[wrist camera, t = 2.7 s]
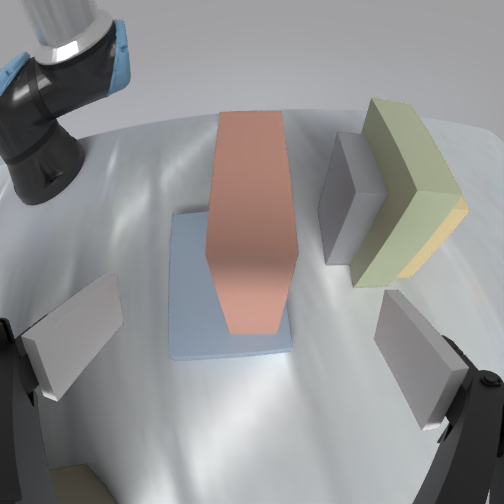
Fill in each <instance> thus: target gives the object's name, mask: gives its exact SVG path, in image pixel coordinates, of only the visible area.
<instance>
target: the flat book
mask: <svg viewBox="0 0 504 504" xmlns="http://www.w3.org/2000/svg"><path fill="white" fill-rule="evenodd" d="M208 214H209V211H206V212H196V213H186V214H177V215H173V216H172V231H171V250H170V275H169V357H170V358H172V359H173V360H200V359H218V358H232V357H245V356H256V355H266V354H275V353H284V352H290V351H291V349H292V340H291V333H290V326H289V319H288V312H287V305H286V303H285V306H284V310H283V314H282V317H281V321H280V324H279V328H278V331H277V334H230V332H229V329H228V326H227V323H226V320H225V317H224V313H223V310H222V307H221V304H220V301H219V298H218V295H217V292H216V288H215V285H214V282H213V279H212V276H211V272H210V269H209V266H208V263H207V259H206V256H205V248H206V236H207V225H208Z"/></svg>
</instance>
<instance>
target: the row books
mask: <svg viewBox="0 0 504 504" xmlns="http://www.w3.org/2000/svg"><path fill="white" fill-rule="evenodd" d="M361 134H364V135H365V136H366V138H367V140H368V143H369V145H370V147H371V150H372V152H373V155H374V157H375V160H376V162H377V165H378V167H379V170H380V173H381V175H382V178H383V181H384V184H385V186H386V189H387V192H388V195H387V197H386V199H385V201H384V203H383V205H382V207H381V209H380V211H379V213H378V215H377V217H376V219H375V220H374V222H373V224H372V226H371V228H370V230H369V231H368V233H367V235H366V237H365V239H364V241H363V242H362V244H361V246H360V248H359V249H358V251H357V253H356V255H355V256H354V258H353V260H352V262H351V263H350V269H351V275H352V282H353V288H363V287H383V286H388V285H389V284H390V283H391V282H392V281H393V280H394V279H395V278H409V277H411V276H412V275H413V274H414V273H415V272H416V271H417V270H418V269H419V268H420V267H421V266H422V265H423V264H424V262H425V261H426V260H427V259H428V258H429V257H430V256H431V255H432V254H433V253H434V252H435V251H436V249H437V248H438V247H439V246H440V245H441V244H442V243H443V242H444V240H445V239H446V238H447V237H448V236H449V235H450V234H451V232H452V231H453V230H454V229H455V228H456V226H457V225H458V224H459V223H460V222H461V220H462V219H463V218H464V217H465V216H466V214H467V213H468V212H469V211H470V210H469V207H468V205H467V203H466V201H465V199H464V196H463V194H462V192H461V190H460V188H459V186H458V184H457V182H456V180H455V178H454V176H453V174H452V172H451V170H450V168H449V166H448V164H447V163H446V161H445V159H444V157H443V155H442V154H441V152H440V150H439V148H438V147H437V145H436V143H435V141H434V140H433V138H432V136H431V135H430V133H429V132H428V130H427V129H426V127H425V126H424V124H423V122H422V121H421V119H420V118H419V116H418V115H417V113H416V112H415V110H414V109H413V107H412V106H411V105H410V104H404V103H399V102H394V101H388V100H382V99H376V98H371V101H370V105H369V109H368V112H367V115H366V119H365V122H364V126H363V129H362V132H361Z"/></svg>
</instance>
